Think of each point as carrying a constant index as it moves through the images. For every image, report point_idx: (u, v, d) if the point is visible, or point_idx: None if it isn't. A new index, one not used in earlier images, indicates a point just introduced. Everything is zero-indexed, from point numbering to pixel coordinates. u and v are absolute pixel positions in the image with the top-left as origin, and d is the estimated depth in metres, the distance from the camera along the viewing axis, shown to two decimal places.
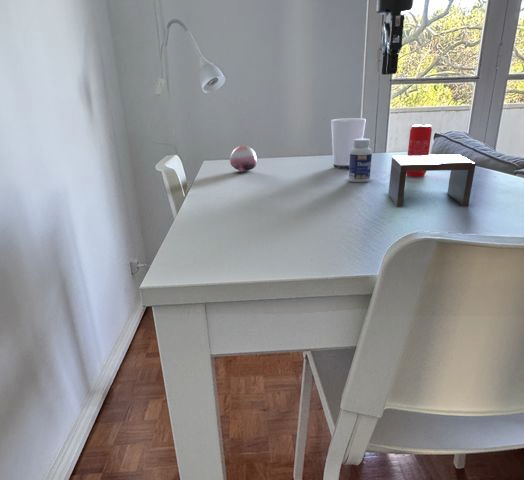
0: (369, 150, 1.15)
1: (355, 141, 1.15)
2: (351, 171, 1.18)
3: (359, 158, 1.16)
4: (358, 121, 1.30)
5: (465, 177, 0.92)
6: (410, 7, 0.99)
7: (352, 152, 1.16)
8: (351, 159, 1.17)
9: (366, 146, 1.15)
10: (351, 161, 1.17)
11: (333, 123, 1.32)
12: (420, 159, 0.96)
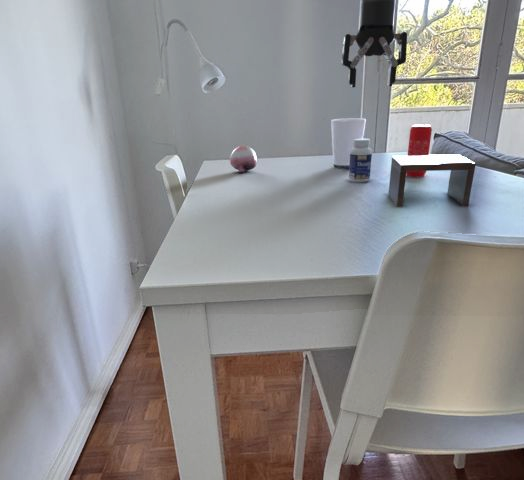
0: (369, 150, 1.15)
1: (355, 141, 1.15)
2: (351, 171, 1.18)
3: (359, 158, 1.16)
4: (358, 121, 1.30)
5: (465, 177, 0.92)
6: (369, 23, 1.01)
7: (352, 152, 1.16)
8: (351, 159, 1.17)
9: (366, 146, 1.15)
10: (351, 161, 1.17)
11: (333, 123, 1.32)
12: (420, 159, 0.96)
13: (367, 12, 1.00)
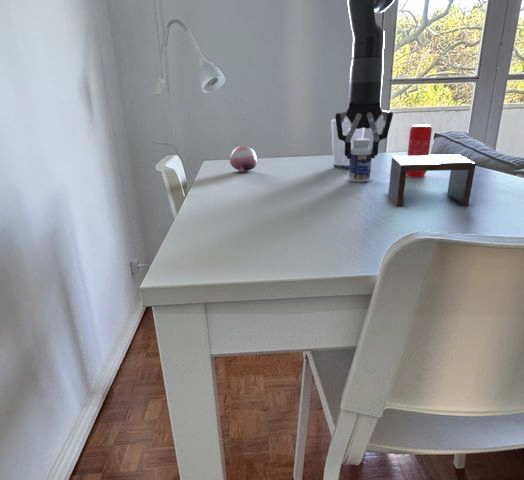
0: (369, 150, 1.15)
1: (355, 141, 1.15)
2: (351, 171, 1.18)
3: (359, 158, 1.16)
4: None
5: (465, 177, 0.92)
6: (356, 101, 1.09)
7: (352, 152, 1.16)
8: (351, 159, 1.17)
9: (366, 146, 1.15)
10: (351, 161, 1.17)
11: (333, 123, 1.32)
12: (420, 159, 0.96)
13: (355, 91, 1.08)
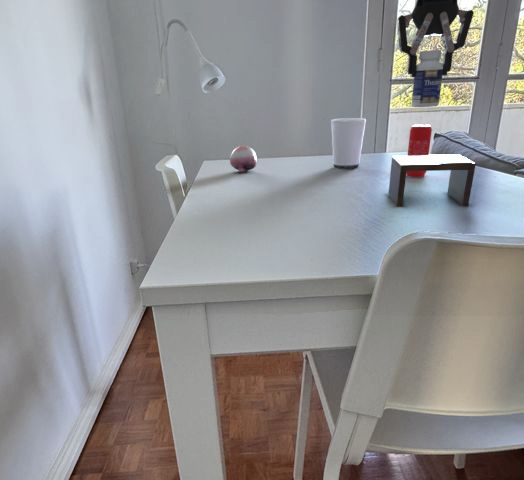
0: (440, 64, 0.91)
1: (422, 53, 0.91)
2: (416, 93, 0.94)
3: (428, 74, 0.91)
4: (358, 121, 1.30)
5: (465, 177, 0.92)
6: None
7: (418, 68, 0.92)
8: (416, 77, 0.93)
9: (437, 59, 0.91)
10: (416, 80, 0.93)
11: (333, 123, 1.32)
12: (420, 159, 0.96)
13: None
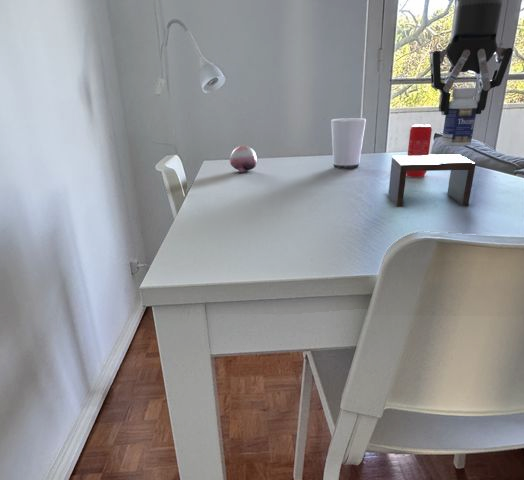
0: (475, 102, 0.86)
1: (457, 90, 0.86)
2: (448, 132, 0.89)
3: (462, 112, 0.86)
4: (358, 121, 1.30)
5: (465, 177, 0.92)
6: (466, 32, 0.80)
7: (451, 105, 0.87)
8: (449, 115, 0.88)
9: (471, 97, 0.86)
10: (449, 118, 0.88)
11: (333, 123, 1.32)
12: (420, 159, 0.96)
13: (465, 17, 0.79)
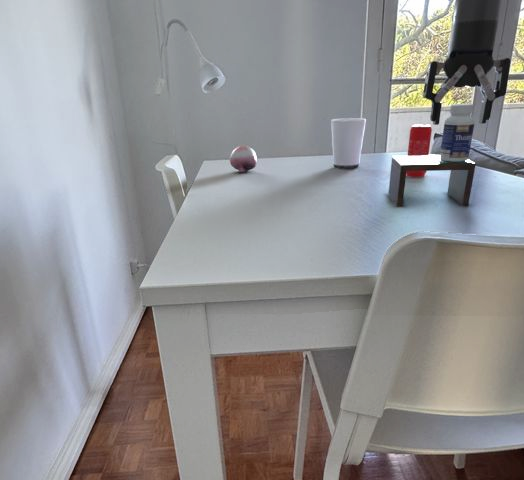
0: (472, 119, 0.87)
1: (454, 107, 0.87)
2: (445, 147, 0.90)
3: (459, 129, 0.87)
4: (358, 121, 1.30)
5: (465, 177, 0.92)
6: (463, 48, 0.81)
7: (449, 122, 0.88)
8: (447, 131, 0.89)
9: (469, 113, 0.87)
10: (446, 134, 0.89)
11: (333, 123, 1.32)
12: (420, 159, 0.96)
13: (461, 34, 0.80)
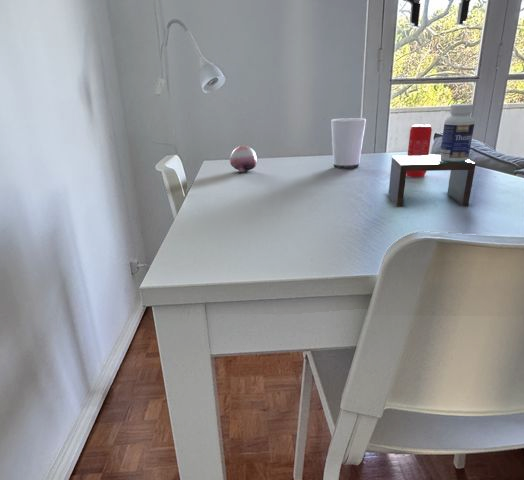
0: (472, 119, 0.87)
1: (454, 107, 0.87)
2: (445, 147, 0.90)
3: (459, 129, 0.87)
4: (358, 121, 1.30)
5: (465, 177, 0.92)
6: None
7: (449, 122, 0.88)
8: (447, 131, 0.89)
9: (469, 113, 0.87)
10: (446, 134, 0.89)
11: (333, 123, 1.32)
12: (420, 159, 0.96)
13: None
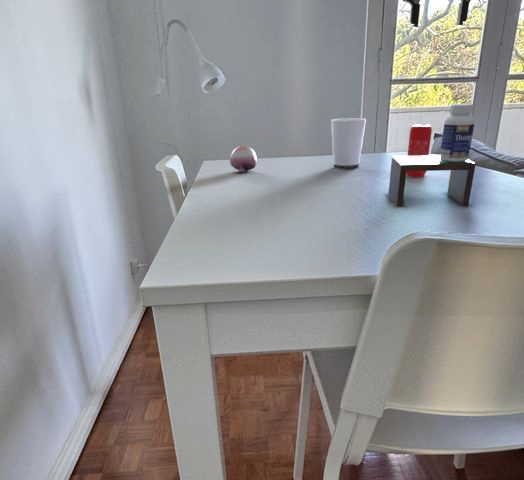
0: (472, 119, 0.87)
1: (454, 107, 0.87)
2: (445, 147, 0.90)
3: (459, 129, 0.87)
4: (358, 121, 1.30)
5: (465, 177, 0.92)
6: None
7: (449, 122, 0.88)
8: (447, 131, 0.89)
9: (469, 113, 0.87)
10: (446, 134, 0.89)
11: (333, 123, 1.32)
12: (420, 159, 0.96)
13: None
